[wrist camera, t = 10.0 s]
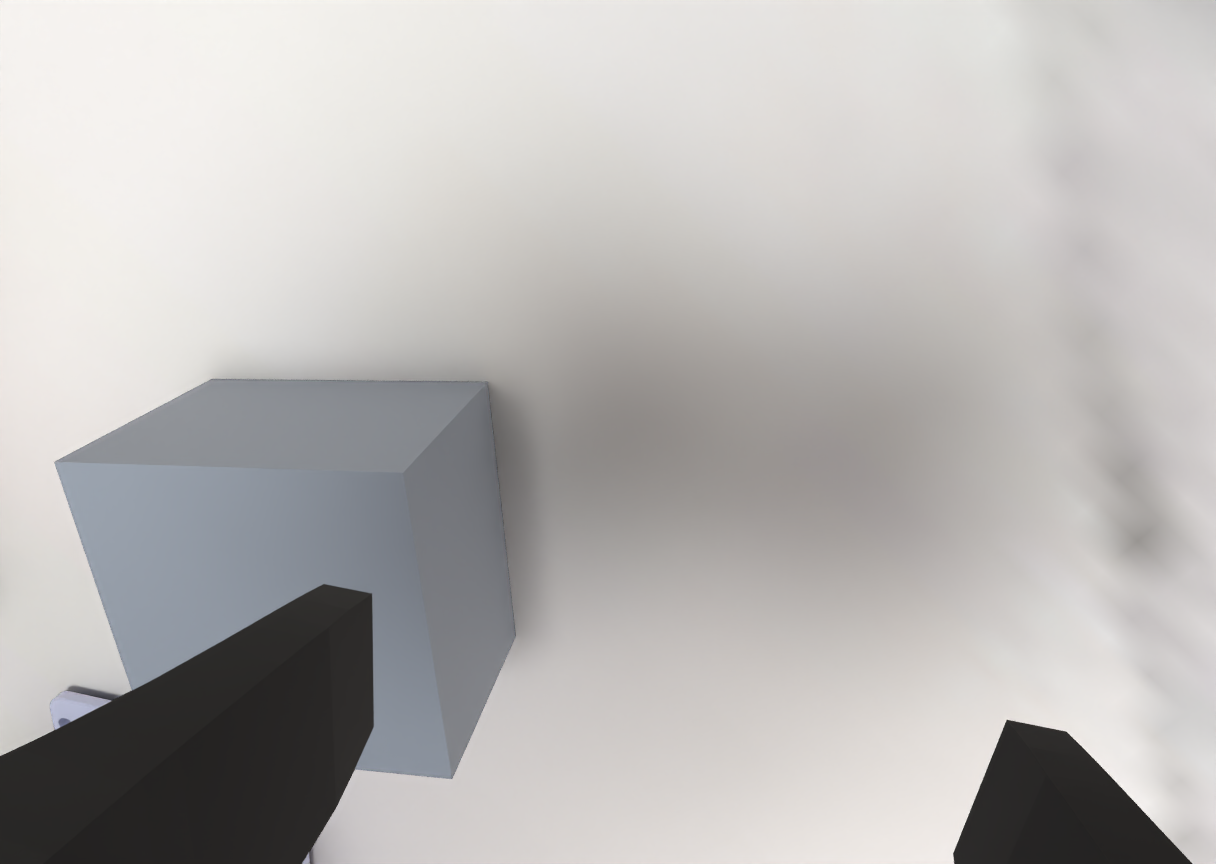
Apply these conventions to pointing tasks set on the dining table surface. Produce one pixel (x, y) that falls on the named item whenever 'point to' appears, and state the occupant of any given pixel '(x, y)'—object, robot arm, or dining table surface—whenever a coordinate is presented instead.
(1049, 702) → the dining table surface
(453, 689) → the slate block
